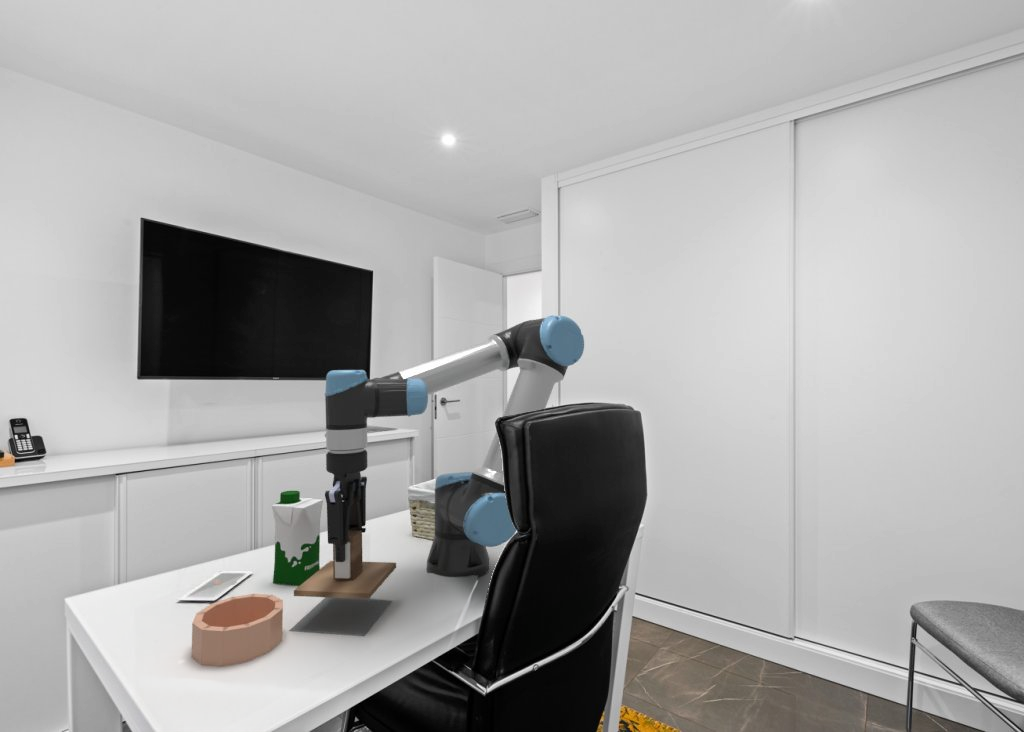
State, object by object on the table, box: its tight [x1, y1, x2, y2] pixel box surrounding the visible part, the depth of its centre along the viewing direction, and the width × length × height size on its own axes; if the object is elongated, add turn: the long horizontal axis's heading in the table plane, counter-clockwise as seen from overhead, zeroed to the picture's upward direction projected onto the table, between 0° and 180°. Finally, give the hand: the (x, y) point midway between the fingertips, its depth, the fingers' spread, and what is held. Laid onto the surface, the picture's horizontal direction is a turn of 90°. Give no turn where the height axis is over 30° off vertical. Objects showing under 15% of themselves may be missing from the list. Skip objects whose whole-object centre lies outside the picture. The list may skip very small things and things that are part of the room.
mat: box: [288, 597, 393, 637], centre depth 95 cm, size 14×14×1 cm
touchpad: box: [176, 570, 254, 602], centre depth 109 cm, size 8×15×2 cm, turn 0°
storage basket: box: [407, 478, 436, 541], centre depth 152 cm, size 24×16×15 cm
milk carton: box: [271, 490, 324, 587], centre depth 112 cm, size 9×9×20 cm
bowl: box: [191, 593, 284, 667], centre depth 85 cm, size 13×13×6 cm
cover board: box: [293, 530, 397, 599], centre depth 96 cm, size 14×14×9 cm
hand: (348, 572), depth 96 cm, fingers closed on cover board, 4 cm apart
